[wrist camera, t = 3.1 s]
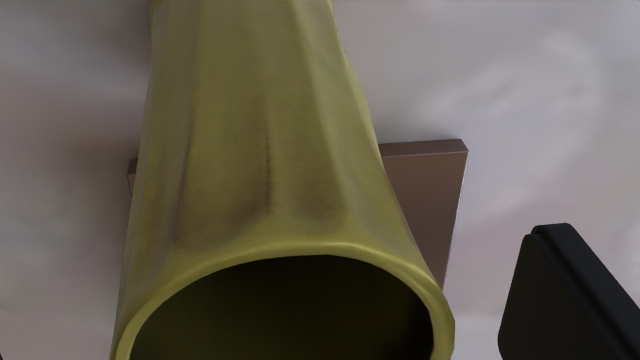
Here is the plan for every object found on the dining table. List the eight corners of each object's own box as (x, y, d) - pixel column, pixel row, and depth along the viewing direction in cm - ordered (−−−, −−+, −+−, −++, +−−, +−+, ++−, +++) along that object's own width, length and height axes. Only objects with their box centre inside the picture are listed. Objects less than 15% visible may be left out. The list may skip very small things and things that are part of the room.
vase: (250, 136, 23) (293, 519, 12) (110, 31, 20) (-18, 410, 9) (368, 20, 21) (561, 342, 10) (233, -114, 18) (282, 120, 7)
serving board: (129, 159, 23) (126, 173, 22) (461, 137, 25) (469, 151, 24) (185, 458, 34) (184, 475, 34) (409, 429, 36) (414, 445, 35)
